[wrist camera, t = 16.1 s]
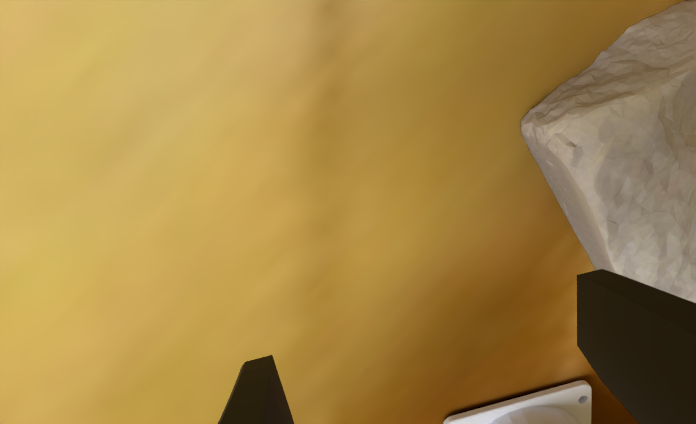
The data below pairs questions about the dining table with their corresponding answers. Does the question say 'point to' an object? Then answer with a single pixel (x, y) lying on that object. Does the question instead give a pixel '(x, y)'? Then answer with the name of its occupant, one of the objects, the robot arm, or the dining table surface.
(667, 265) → the stone block
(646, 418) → the robot arm
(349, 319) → the dining table surface
